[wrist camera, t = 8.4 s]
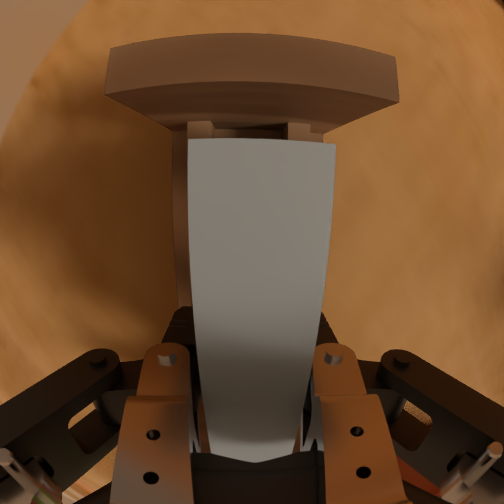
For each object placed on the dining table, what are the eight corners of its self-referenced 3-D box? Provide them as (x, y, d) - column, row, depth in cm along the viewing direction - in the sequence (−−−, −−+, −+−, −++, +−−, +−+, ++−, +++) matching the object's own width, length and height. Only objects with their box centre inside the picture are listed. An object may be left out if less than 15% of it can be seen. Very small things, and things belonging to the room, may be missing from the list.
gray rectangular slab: (226, 157, 14) (188, 139, 4) (273, 158, 14) (335, 144, 4) (227, 354, 17) (219, 494, 8) (264, 354, 17) (279, 494, 8)
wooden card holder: (178, 109, 14) (110, 48, 5) (317, 112, 14) (395, 57, 6) (192, 383, 19) (172, 484, 11) (296, 384, 20) (319, 483, 11)
